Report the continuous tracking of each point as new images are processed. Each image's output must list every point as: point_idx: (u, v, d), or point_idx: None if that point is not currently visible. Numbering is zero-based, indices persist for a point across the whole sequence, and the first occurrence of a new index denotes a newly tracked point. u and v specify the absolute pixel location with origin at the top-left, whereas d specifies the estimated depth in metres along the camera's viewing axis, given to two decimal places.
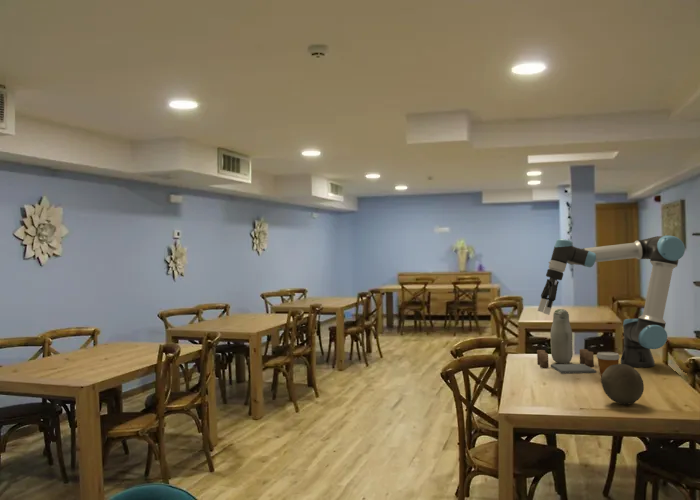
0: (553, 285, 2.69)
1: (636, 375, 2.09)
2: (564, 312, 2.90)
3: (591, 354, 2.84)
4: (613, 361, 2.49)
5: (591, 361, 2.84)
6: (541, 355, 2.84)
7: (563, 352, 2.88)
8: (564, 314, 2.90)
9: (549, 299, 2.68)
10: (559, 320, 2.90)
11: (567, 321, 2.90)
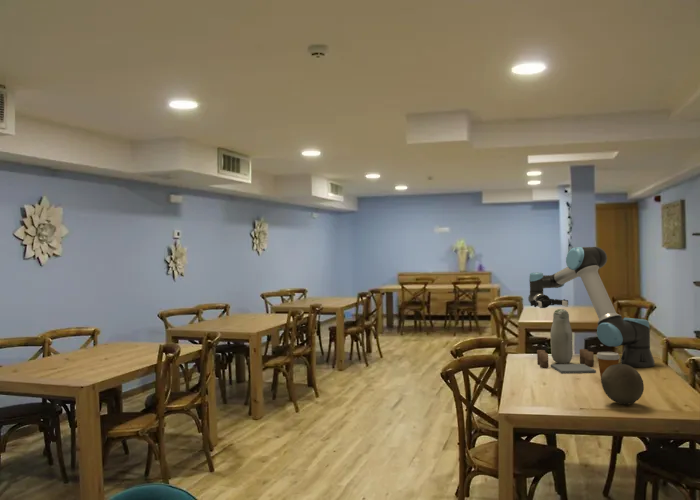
0: None
1: (636, 375, 2.09)
2: (564, 312, 2.90)
3: (591, 354, 2.84)
4: (613, 361, 2.49)
5: (591, 361, 2.84)
6: (541, 355, 2.84)
7: (563, 352, 2.88)
8: (564, 314, 2.90)
9: (534, 305, 3.11)
10: (559, 320, 2.90)
11: (567, 321, 2.90)
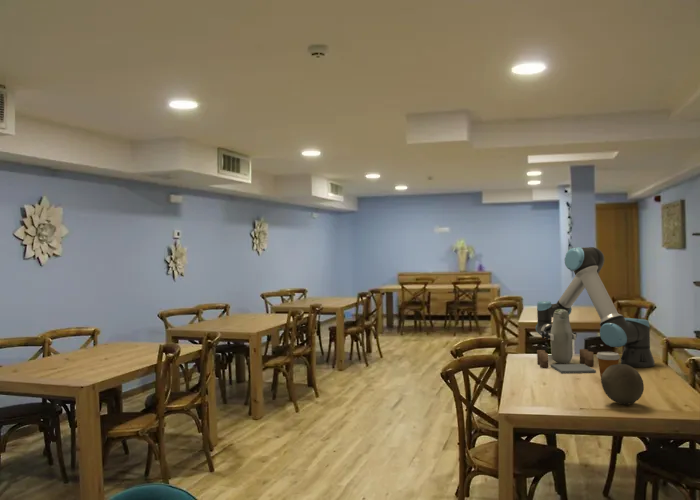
0: (542, 335, 3.03)
1: (636, 375, 2.09)
2: (564, 312, 2.90)
3: (591, 354, 2.84)
4: (613, 361, 2.49)
5: (591, 361, 2.84)
6: (541, 355, 2.84)
7: (563, 352, 2.88)
8: (564, 314, 2.90)
9: None
10: (559, 320, 2.90)
11: (567, 321, 2.90)
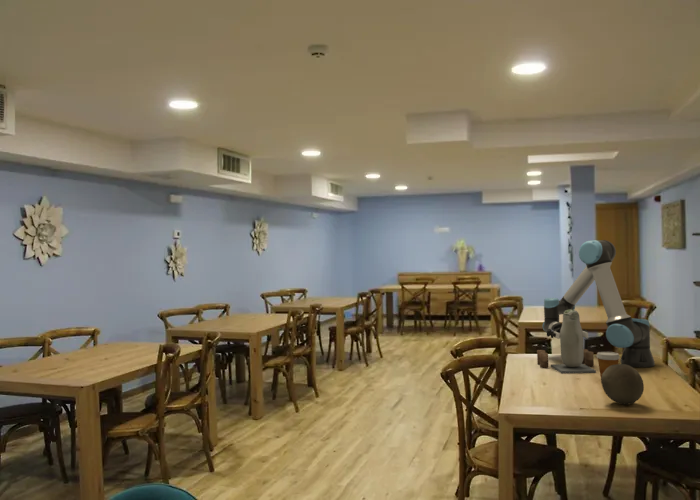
0: None
1: (636, 375, 2.09)
2: (574, 313, 2.75)
3: (591, 354, 2.84)
4: (613, 361, 2.49)
5: (591, 361, 2.84)
6: (541, 355, 2.84)
7: (574, 355, 2.73)
8: (574, 315, 2.75)
9: (551, 335, 2.83)
10: (569, 321, 2.75)
11: (578, 322, 2.75)
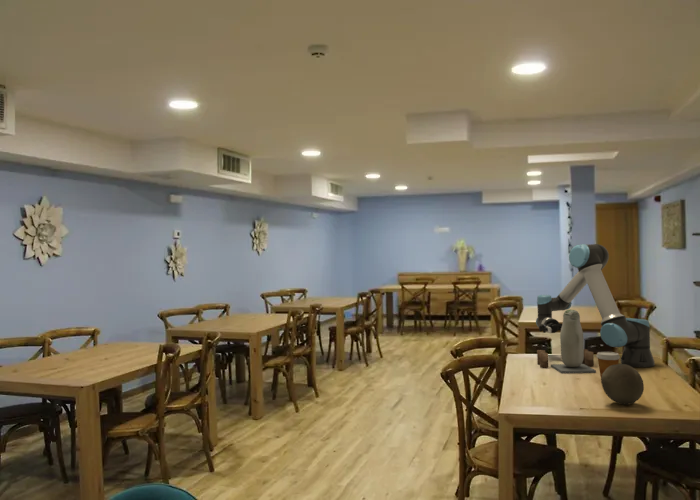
0: None
1: (636, 375, 2.09)
2: (575, 313, 2.75)
3: (591, 354, 2.84)
4: (613, 361, 2.49)
5: (591, 361, 2.84)
6: (541, 355, 2.84)
7: (574, 355, 2.73)
8: (575, 315, 2.75)
9: (543, 330, 2.96)
10: (569, 321, 2.75)
11: (578, 322, 2.75)
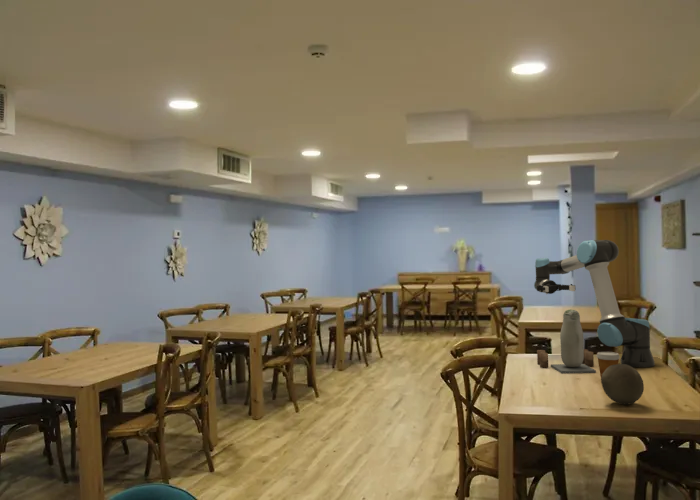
0: None
1: (636, 375, 2.09)
2: (575, 313, 2.75)
3: (591, 354, 2.84)
4: (613, 361, 2.49)
5: (591, 361, 2.84)
6: (541, 355, 2.84)
7: (574, 355, 2.73)
8: (575, 315, 2.75)
9: (540, 290, 3.04)
10: (569, 321, 2.75)
11: (578, 322, 2.75)
